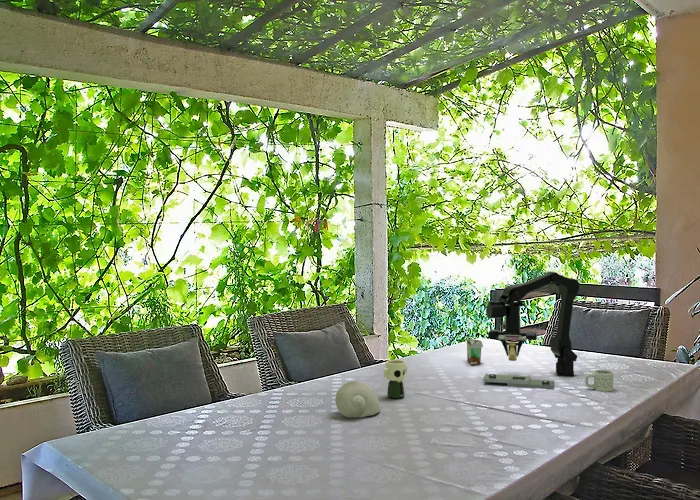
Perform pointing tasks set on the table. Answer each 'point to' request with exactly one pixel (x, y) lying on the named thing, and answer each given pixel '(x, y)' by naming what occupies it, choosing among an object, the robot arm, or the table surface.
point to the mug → (601, 380)
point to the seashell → (356, 400)
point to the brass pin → (512, 350)
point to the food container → (474, 352)
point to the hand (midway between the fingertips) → (512, 356)
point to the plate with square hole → (519, 381)
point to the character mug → (395, 377)
